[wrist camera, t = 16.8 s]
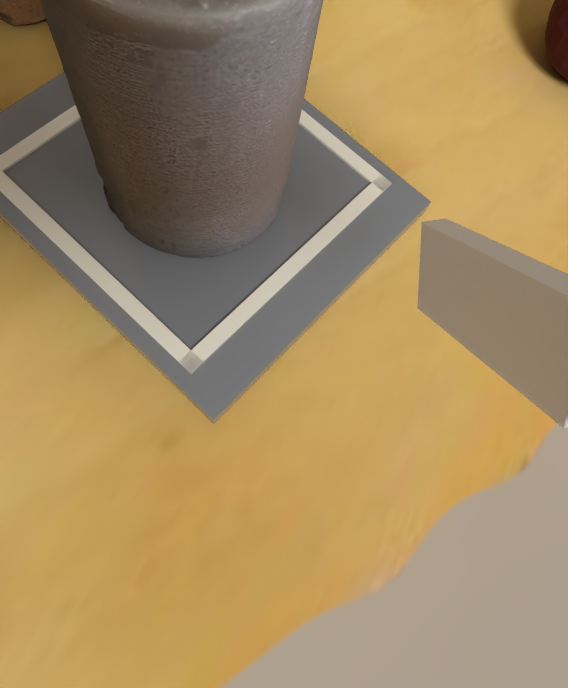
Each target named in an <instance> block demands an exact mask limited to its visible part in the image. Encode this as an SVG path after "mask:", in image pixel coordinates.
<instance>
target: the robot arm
mask: <svg viewBox="0 0 568 688" xmlns="http://www.w3.org/2000/svg"><path fill="white" fill-rule="evenodd" d="M418 309H419V310H421V311H422V312H423V313H424V314H425V315H427V316H428V317H429V318H430V319H432V320H433V321H434V322H435V323H436V324H438V325H439V326H440V327H441V328H443V329H444V330H445V331H446V332H447V333H449V334H450V335H451V336H452V337H453V338H455V339H456V340H457V341H458V342H460V343H461V344H462V345H463V346H464V347H466V348H467V349H468V350H469V351H471V352H472V353H473V354H474V355H475V356H477V357H478V358H479V359H480V360H481V361H483V362H484V363H485V364H486V365H488V366H489V367H490V368H491V369H492V370H494V371H495V372H496V373H497V374H498V375H500V376H501V377H502V378H503V379H505V380H506V381H507V382H508V383H509V384H511V385H512V386H513V387H514V388H516V389H517V390H518V391H519V392H520V393H522V394H523V395H524V396H525V397H526V398H528V399H529V400H530V401H531V402H533V403H534V404H535V405H536V406H537V407H539V408H540V409H541V410H542V411H543V412H545V413H546V414H547V415H548V416H550V417H551V418H552V419H553V420H554V421H556V422H557V423H558V424H559V425H561V426H562V427H563V428H566V427H568V274H566V273H564V272H562V271H560V270H557V269H555V268H553V267H551V266H549V265H546V264H544V263H542V262H540V261H538V260H535V259H533V258H531V257H529V256H527V255H524V254H522V253H520V252H518V251H516V250H513V249H511V248H509V247H507V246H505V245H502V244H500V243H498V242H496V241H494V240H491V239H489V238H487V237H485V236H483V235H480V234H478V233H476V232H474V231H472V230H469V229H467V228H465V227H463V226H461V225H458V224H456V223H454V222H452V221H450V220H447V219H440V220H433V221H426V222H422V229H421V249H420V270H419V290H418Z"/></svg>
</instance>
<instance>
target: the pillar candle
mask: <svg viewBox="0 0 568 688" xmlns="http://www.w3.org/2000/svg"><path fill="white" fill-rule="evenodd" d="M40 2H41V5H42V8H43V11H44V14H45V17H46V20H47V23H48V25H49V28H50V31H51V34H52V37H53V39H54V42H55V45H56V47H57V50H58V52H59V56H60V59H61V62H62V65H63V69H64V72H65V75H66V77H67V80H68V83H69V86H70V90H71V93H72V96H73V99H74V102H75V105H76V107H77V110H78V113H79V115H80V118H81V121H82V124H83V127H84V130H85V133H86V136H87V138H88V141H89V145H90V148H91V151H92V154H93V157H94V159H95V165H96V168H97V171H98V173H99V175H100V176H101V177H102V179H103V184H104V185H103V189H104V193H105V197H106V199H107V202H108V206H109V208H110V210H111V211H112V212H113V213H115V214H116V215H117V217H118V218H119V220H120V221H121V222H122V223H123V224H124V228H125V229H126V230H127V231H128V232H129V233H130V234H131V235H133V236H134V237H135V238H137V239H138V240H140V241H141V242H143V243H144V244H146V245H148V246H150V247H152V248H154V249H157V250H159V251H162V252H165V253H169V254H173V255H177V256H181V257H192V258H203V257H214V256H218V255H221V254H226V253H229V252H232V251H235V250H237V249H239V248H241V247H243V246H245V245H247V244H249V243H250V242H252V241H253V240H255V239H256V238H257V237H258V236H260V235H261V234H262V233H263V232H264V231H265V230H266V229H267V228H268V227H269V226H270V224H271V223H272V222H273V220H274V219H275V217H276V215H277V213H278V211H279V209H280V206H281V203H282V200H283V196H284V192H285V187H286V183H287V179H288V174H289V170H290V164H291V159H292V155H293V149H294V145H295V140H296V136H297V131H298V126H299V120H300V116H301V111H302V106H303V100H304V94H305V89H306V84H307V79H308V73H309V68H310V64H311V59H312V54H313V49H314V43H315V39H316V34H317V29H318V23H319V19H320V13H321V8H322V4H323V0H40Z"/></svg>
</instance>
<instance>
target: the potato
mask: <svg viewBox="0 0 568 688" xmlns="http://www.w3.org/2000/svg"><path fill="white" fill-rule="evenodd" d="M545 44H546V52H547V55H548V57H549V59H550V62H551V64H552V66H553V67H554V69H555V70H556V71H557V72H558V73H559V74H560V75H561V76H563V77H564V78H565V79H567V80H568V0H555V2H554V4H553V6H552V8H551V10H550V13H549V18H548V22H547V27H546V32H545Z"/></svg>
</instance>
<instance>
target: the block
mask: <svg viewBox="0 0 568 688" xmlns="http://www.w3.org/2000/svg"><path fill="white" fill-rule="evenodd" d="M0 19H3V20H4V21H5V22H7V23H10V24H12V25H21V24H31V23H36V22H39V21H42V20H45V19H46V17H45V14H44V11H43V8H42V5H41V2H40V0H0Z"/></svg>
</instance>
